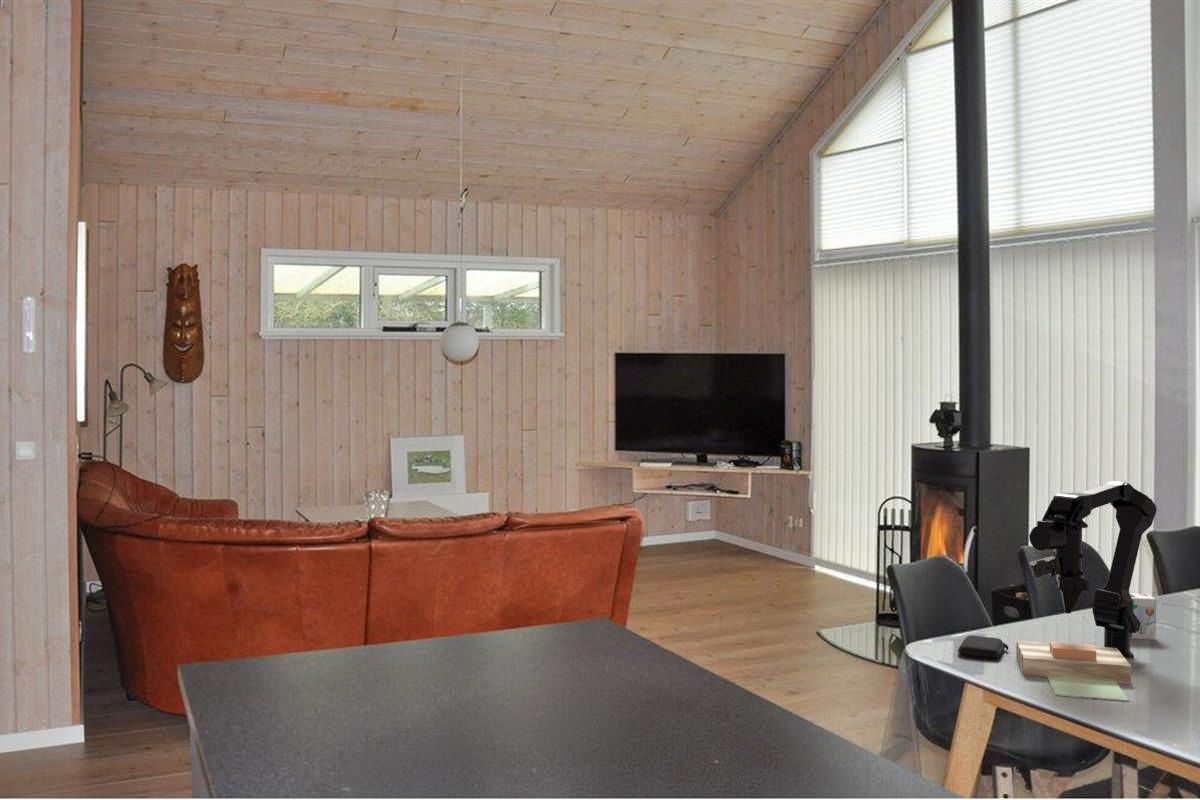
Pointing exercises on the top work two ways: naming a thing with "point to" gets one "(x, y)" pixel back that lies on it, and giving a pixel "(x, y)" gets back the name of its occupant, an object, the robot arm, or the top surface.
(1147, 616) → the light bulb box
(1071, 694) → the mat
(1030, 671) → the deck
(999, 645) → the carrying case or bag
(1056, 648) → the block
